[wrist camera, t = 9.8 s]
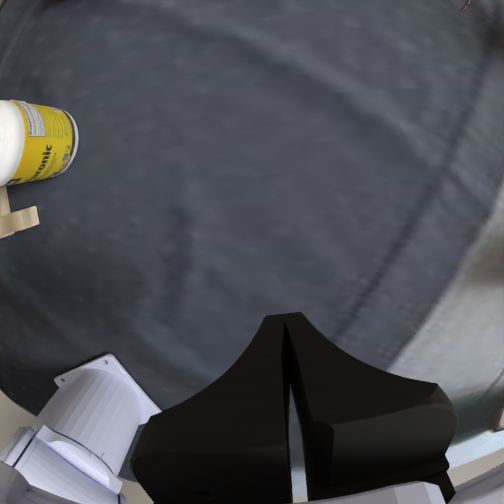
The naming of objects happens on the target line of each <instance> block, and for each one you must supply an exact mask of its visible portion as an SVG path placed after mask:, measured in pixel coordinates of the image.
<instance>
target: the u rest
mask: <svg viewBox="0 0 504 504" xmlns="http://www.w3.org/2000/svg"><path fill="white" fill-rule="evenodd" d="M9 101H14V102H21V103H26V102H24V101H17V100H9ZM38 224H39V219H38V214H37V209H36V206H34V207H30V208H27V209H23V210H20V211H17V212H13V213H10V207H9V201H8V195H7V188H6V186H4V187H0V239H1V238H3V237H6V236H8V235H11V234H14V233H15V232H16V231H20V230H24V229H27V228H29V227H32V226H35V225H38Z"/></svg>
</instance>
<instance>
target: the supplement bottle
mask: <svg viewBox="0 0 504 504" xmlns="http://www.w3.org/2000/svg"><path fill="white" fill-rule="evenodd" d="M77 147H78V130H77V126H76V123H75V121H74V119H73V118H72V116H71V115H70V114H69V113H68V112H66V111H64V110H61V109H58V108H53V107H47V106H41V105H35V104H28V103H21V102H14V101H4V100H0V187H4V186H8V185H13V184H18V183H24V182H30V181H36V180H41V179H48V178H52V177H55V176H58V175H60V174H61V173H63V172H64V171H65V170H66V169H67V168H68V167H69V165H70V164H71V162H72V161H73V159H74V157H75V154H76V151H77Z"/></svg>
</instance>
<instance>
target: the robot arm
mask: <svg viewBox="0 0 504 504" xmlns="http://www.w3.org/2000/svg"><path fill="white" fill-rule="evenodd" d="M105 360H106V361H107V362H106V361H105ZM54 381H55V383H56V384H57V385H58V386H59V389H58V390H57V391H56V393H55V394H54V395H53V396H52V398H51V399H50V400H49V402H48V403H47V404H46V406H45V407H44V408H43V410H42V411H41V412H40V414H39V415H38V416H37V418H36V419H35V421H34V423H33V426H32V428H31V427H29V426H28V427H27V428H26V427H20V428H19V429H18V431H17V432H16V433H15V434H14V436H13V437H12V439H11V440H10V441H9V443H8V444H7V445H6V447H5V448H4V449H3V451H2V452H1V454H0V504H127V500H126V497H125V496H124V495H123V494H121V493H120V492H119V491H120V489H121V486H122V484H123V483H122V482H121V481H120V480H118V479H117V476H118V473H119V471H120V468H121V466H122V464H123V461H124V459H125V456H126V454H127V452H128V449H129V447H130V444H131V442H132V440H133V437H134V435H135V433H136V430H137V428H138V426H139V425H140V424H144V423H146V425H145V427H144V428H143V430H142V433H141V435H140V437H139V440H138V442H137V444H136V447H135V450H134V452H133V455H132V457H131V460H130V469H131V471H132V473H133V475H134V477H135V478H136V479H137V481H138V482H139V484H140V485H141V486H142V487H143V489H144V490H145V491H146V493H147V494H148V495H149V497H150V498H151V499H152V500H153V502H154V504H504V463H502V464H501V465H499V466H497V467H495V468H493V469H491V470H489V471H488V472H486V473H484V474H482V475H480V476H478V477H476V478H473V479H471V480H469V481H467V482H465V483H463V484H460V485H458V486H456V487H453V485H452V483H451V481H450V478H449V476H448V474H447V472H446V471H447V470H448V469H449V463H448V461H447V458H446V456H445V453H446V451H447V449H448V447H449V445H450V443H451V441H452V439H453V436H454V434H455V432H456V429H457V426H458V422H459V418H458V412H457V411H456V409H455V408H454V406H453V405H452V403H451V401H450V400H449V398H448V397H447V395H446V394H445V393H444V391H443V390H442V389H441V388H440V387H439V385H438V384H436V383H431V382H425V381H419V380H414V379H409V378H405V377H401V376H398V375H394V374H391V373H388V372H385V371H382V370H380V369H377V368H375V367H373V366H370V365H368V364H366V363H364V362H362V361H360V360H358V359H356V358H354V357H353V356H351V355H349V354H348V353H346V352H344V351H343V350H341V349H340V348H338V347H337V346H336V345H335V344H333V343H332V342H331V341H330V340H328V339H327V338H326V337H325V336H324V335H323V334H322V333H321V332H319V331H318V330H317V329H316V328H315V327H314V326H313V324H312V323H311V322H310V321H309V320H308V319H307V318H306V317H305V315H304V314H303V313H301V312H295V313H287V314H278V315H268V316H266V317H265V318H264V319H263V321H262V323H261V326H260V327H259V329H258V331H257V333H256V335H255V336H254V338H253V339H252V341H251V342H250V344H249V345H248V347H247V348H246V349H245V351H244V352H243V353H242V355H241V356H240V357H239V358H238V360H237V361H236V362H235V363H234V364H233V365H232V366H231V367H230V368H229V369H228V370H227V371H226V372H225V373H224V374H223V375H222V376H221V377H219V378H218V379H217V380H216V381H214V382H213V383H212V384H210V385H209V386H208V387H206V388H205V389H204V390H202V391H200V392H199V393H197V394H196V395H194V396H192V397H191V398H189V399H187V400H185V401H184V402H182V403H180V404H178V405H176V406H173V407H171V408H169V409H167V410H164V411H161V410H160V409H159V408H158V407H157V406H156V405H155V404H154V403H153V402H152V401H151V399H150V398H149V397H148V396H147V395H146V394H145V393H144V392H143V391H142V389H141V388H140V387H139V386H138V385H137V384H136V382H135V381H134V380H133V379H132V378H131V377H130V375H129V374H128V373H127V372H126V371H125V369H124V368H123V367H122V366H121V364H120V363H119V362H118V361H117V359H116V358H115V357H114V356H113V355H112V354H106V355H104V356H101V357H99V358H97V359H95V360H93V361H90V362H88V363H86V364H84V365H82V366H79V367H77V368H75V369H73V370H71V371H68V372H66V373H64V374H62V375H59V376H57V377H56V378H55V379H54ZM290 385H291V389H292V394H293V398H294V403H295V407H296V412H297V416H298V421H299V425H300V430H301V435H302V443H303V453H304V463H305V473H306V485H307V497H308V502H301V503H293V495H292V479H291V465H290V450H289V404H290Z"/></svg>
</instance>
